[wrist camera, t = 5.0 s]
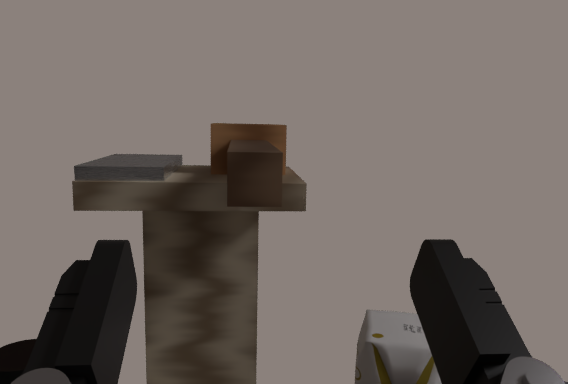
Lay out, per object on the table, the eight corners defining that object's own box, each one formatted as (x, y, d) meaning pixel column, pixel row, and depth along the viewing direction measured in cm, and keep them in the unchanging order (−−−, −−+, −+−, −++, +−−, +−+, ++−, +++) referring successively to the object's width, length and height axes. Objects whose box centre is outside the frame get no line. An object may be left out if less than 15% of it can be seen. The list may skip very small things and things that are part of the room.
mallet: (195, 206, 24) (195, 127, 23) (213, 167, 43) (213, 123, 42) (312, 207, 24) (314, 129, 24) (279, 168, 43) (280, 124, 43)
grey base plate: (74, 180, 32) (74, 166, 32) (115, 164, 43) (115, 154, 43) (163, 181, 33) (163, 167, 33) (182, 165, 44) (182, 155, 44)
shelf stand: (91, 587, 37) (72, 181, 32) (126, 473, 48) (117, 164, 44) (294, 572, 38) (306, 183, 33) (281, 465, 50) (288, 166, 45)
